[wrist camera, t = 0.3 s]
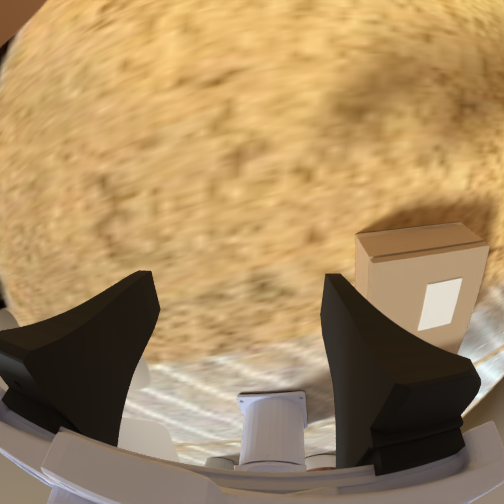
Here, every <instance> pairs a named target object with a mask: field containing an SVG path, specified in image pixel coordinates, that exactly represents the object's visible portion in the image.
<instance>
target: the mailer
mask: <svg viewBox="0 0 504 504" xmlns="http://www.w3.org/2000/svg"><path fill="white" fill-rule="evenodd" d="M355 239H356V276H355V289H356V290H357V291H358V292H359V293H360V294H361V295H362V296H363V297H365V298H366V299H367V300H368V292H369V273H370V259H372V258H380V257H387V256H394V255H401V254H409V253H415V252H422V251H429V250H436V249H443V248H449V247H456V246H462V245H468V244H475V243H481V242H483V239H482V238H480V237H479V236H478V235H477V234H475V233H474V232H473V231H472V230H470V229H469V228H468V227H467V226H465V225H464V224H463V223H461V222H456V223H447V224H438V225H429V226H420V227H412V228H403V229H395V230H386V231H378V232H369V233H361V234H355Z"/></svg>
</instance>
